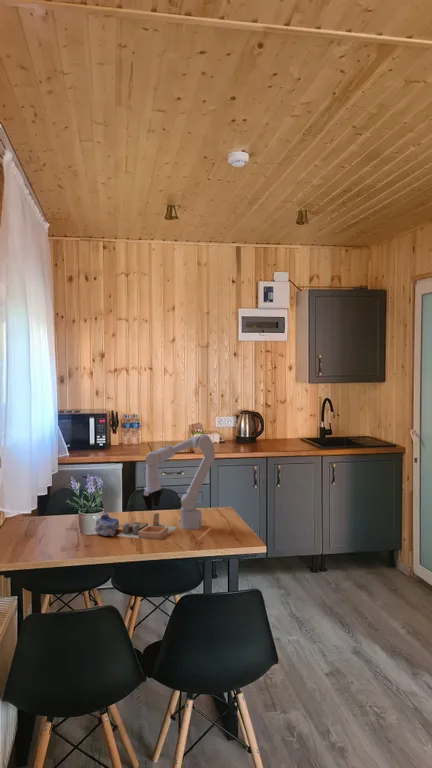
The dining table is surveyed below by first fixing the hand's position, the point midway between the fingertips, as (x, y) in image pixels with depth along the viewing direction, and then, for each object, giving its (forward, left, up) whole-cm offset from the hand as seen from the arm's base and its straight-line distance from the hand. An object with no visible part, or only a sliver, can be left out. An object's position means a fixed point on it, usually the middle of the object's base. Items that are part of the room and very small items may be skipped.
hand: (152, 507), depth 257 cm
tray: (-5, +10, -9) cm, 15 cm away
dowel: (-2, +1, -9) cm, 10 cm away
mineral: (+17, +12, -10) cm, 24 cm away
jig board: (0, +6, -10) cm, 12 cm away
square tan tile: (+6, +5, -9) cm, 12 cm away
